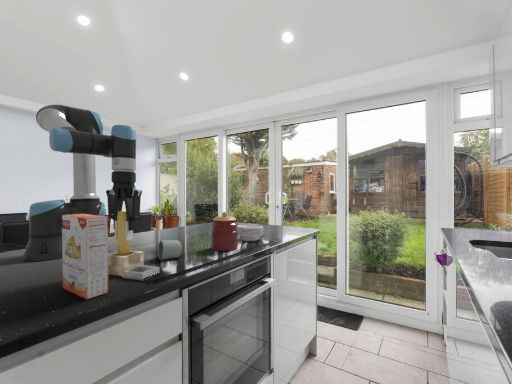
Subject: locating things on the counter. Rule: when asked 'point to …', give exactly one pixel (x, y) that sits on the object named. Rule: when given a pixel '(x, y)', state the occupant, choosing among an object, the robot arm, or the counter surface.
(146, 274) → the grey mount plate
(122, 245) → the ochre pin
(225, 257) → the counter surface
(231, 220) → the canister
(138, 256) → the beech socket block
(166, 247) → the ceramic mug
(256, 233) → the paper bowls
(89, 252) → the cracker box
